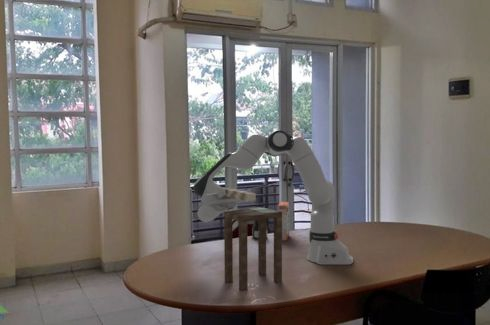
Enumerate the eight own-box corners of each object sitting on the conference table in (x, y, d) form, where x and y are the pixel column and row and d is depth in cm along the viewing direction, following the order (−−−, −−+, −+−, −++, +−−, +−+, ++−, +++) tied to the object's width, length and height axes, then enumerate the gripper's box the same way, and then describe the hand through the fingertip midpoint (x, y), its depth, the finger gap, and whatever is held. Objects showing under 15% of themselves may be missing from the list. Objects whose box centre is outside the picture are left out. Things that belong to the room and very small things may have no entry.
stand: (224, 281, 195) (224, 211, 193) (262, 272, 206) (262, 206, 204) (242, 290, 184) (242, 216, 181) (281, 281, 194) (282, 211, 192)
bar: (221, 194, 202) (221, 188, 202) (228, 194, 204) (227, 187, 204) (248, 201, 184) (248, 194, 184) (255, 200, 186) (255, 193, 185)
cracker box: (287, 241, 264) (287, 205, 262) (276, 240, 265) (277, 205, 264) (289, 235, 278) (290, 201, 276) (280, 235, 279) (280, 201, 277)
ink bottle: (255, 240, 266) (255, 220, 265) (249, 237, 274) (249, 217, 274) (270, 238, 270) (270, 218, 269) (263, 235, 278) (263, 216, 277)
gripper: (195, 199, 205) (207, 186, 194) (234, 195, 216) (248, 183, 205) (198, 212, 202) (211, 200, 192) (237, 207, 213) (251, 196, 203)
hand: (230, 191), depth 199 cm, fingers closed on bar, 3 cm apart
